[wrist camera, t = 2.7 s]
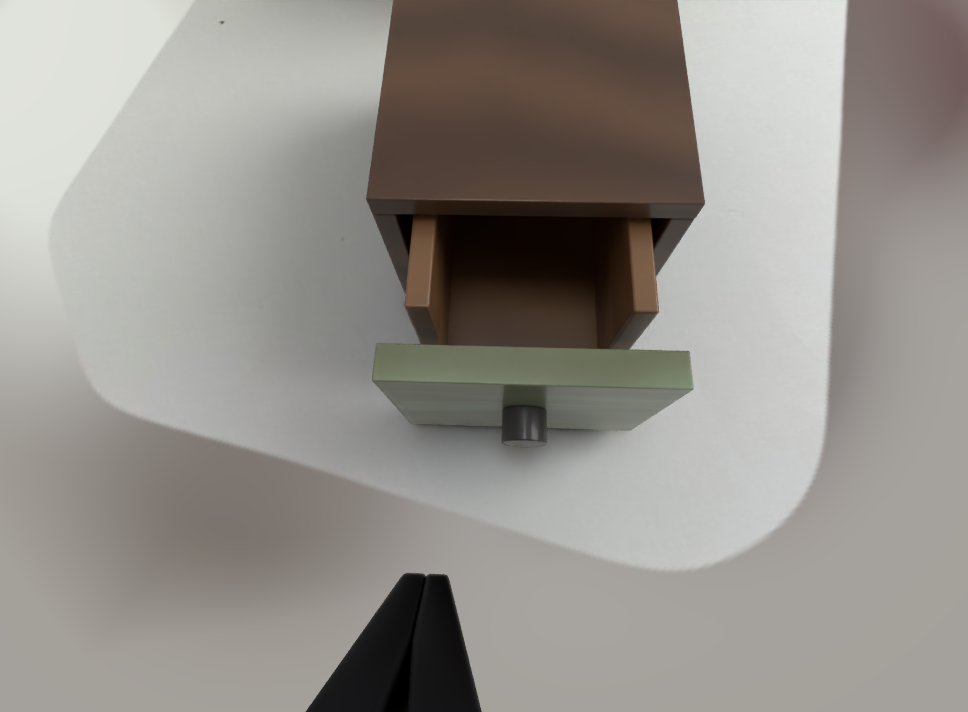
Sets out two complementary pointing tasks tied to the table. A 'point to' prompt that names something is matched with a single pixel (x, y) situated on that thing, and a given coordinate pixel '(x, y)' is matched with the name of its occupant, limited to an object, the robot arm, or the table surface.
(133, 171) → the table surface
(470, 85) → the cabinet
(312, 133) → the table surface
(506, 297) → the drawer
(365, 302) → the table surface
